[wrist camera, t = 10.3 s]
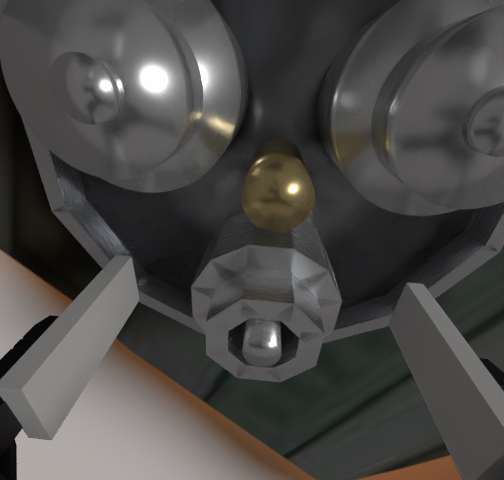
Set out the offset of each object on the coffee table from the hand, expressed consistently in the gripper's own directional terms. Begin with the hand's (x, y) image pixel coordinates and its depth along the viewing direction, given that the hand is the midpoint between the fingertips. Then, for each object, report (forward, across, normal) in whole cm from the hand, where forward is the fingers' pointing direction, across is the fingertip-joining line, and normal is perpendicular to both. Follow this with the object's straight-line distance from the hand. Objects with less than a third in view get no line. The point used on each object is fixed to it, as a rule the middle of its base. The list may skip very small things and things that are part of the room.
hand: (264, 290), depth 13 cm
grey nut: (+3, 0, 0) cm, 3 cm away
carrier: (+4, 0, +6) cm, 7 cm away
